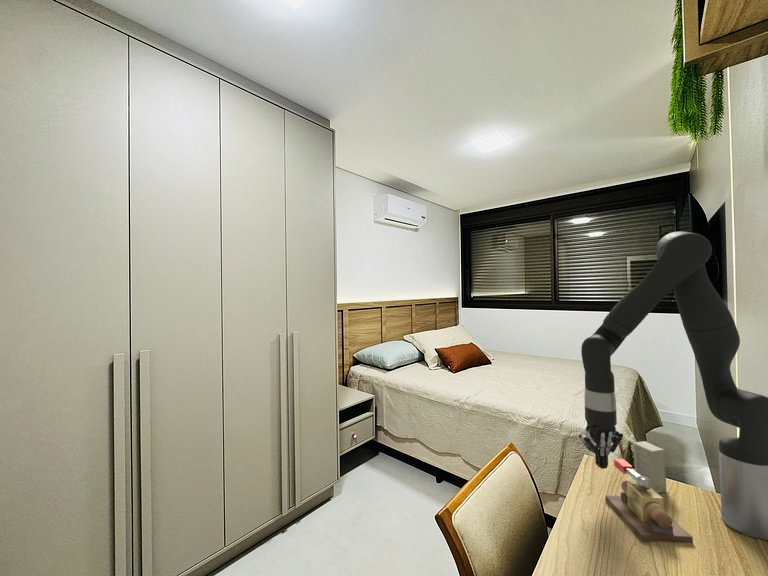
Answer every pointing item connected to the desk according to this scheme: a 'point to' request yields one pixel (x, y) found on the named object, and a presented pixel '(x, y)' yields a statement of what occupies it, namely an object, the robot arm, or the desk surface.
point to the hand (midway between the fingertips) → (601, 467)
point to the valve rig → (647, 515)
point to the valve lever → (632, 473)
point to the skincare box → (650, 464)
